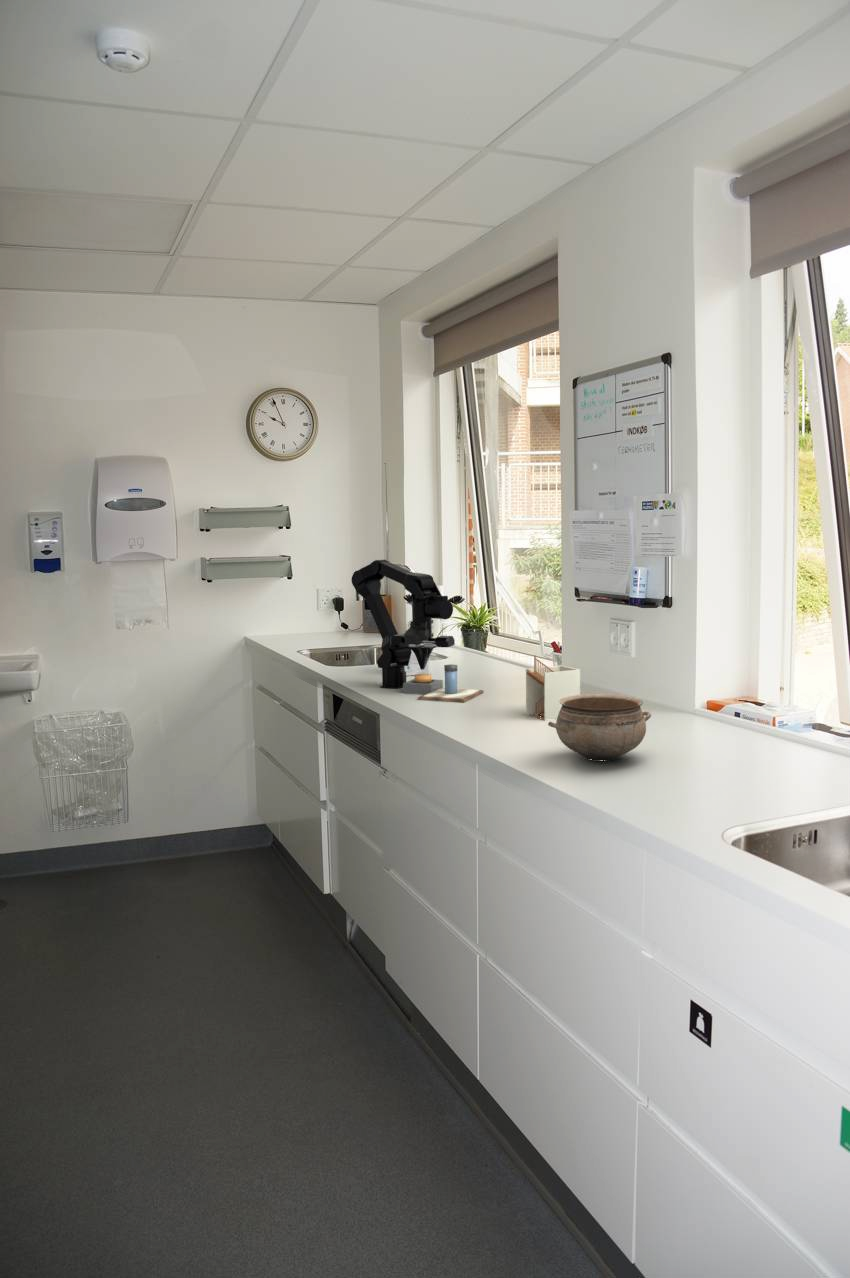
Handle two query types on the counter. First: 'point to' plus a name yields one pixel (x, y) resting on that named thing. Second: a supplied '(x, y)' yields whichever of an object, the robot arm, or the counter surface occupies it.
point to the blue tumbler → (450, 679)
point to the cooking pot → (601, 725)
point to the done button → (422, 678)
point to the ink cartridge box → (415, 666)
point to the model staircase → (549, 688)
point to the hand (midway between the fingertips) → (422, 669)
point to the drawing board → (451, 695)
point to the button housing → (421, 686)
